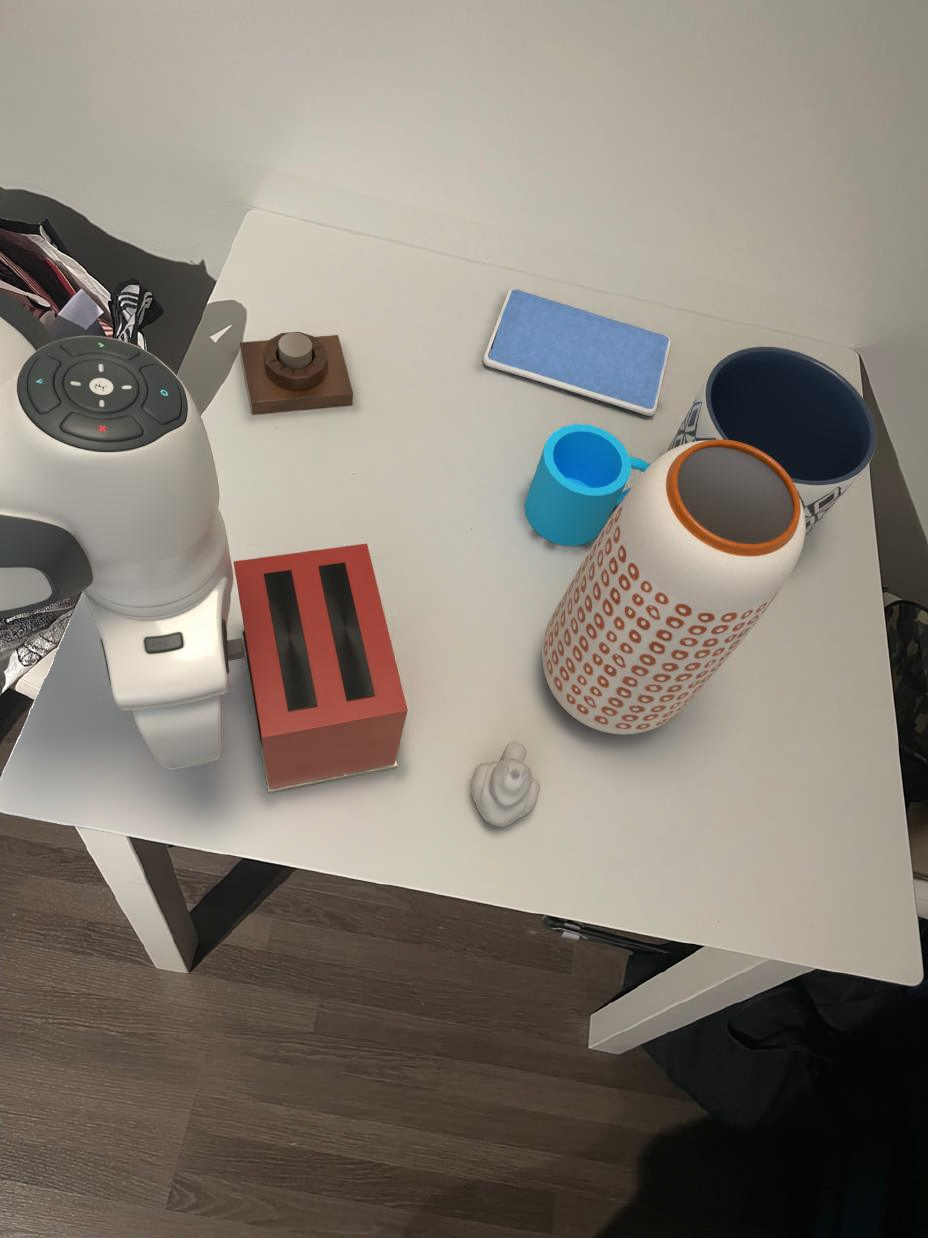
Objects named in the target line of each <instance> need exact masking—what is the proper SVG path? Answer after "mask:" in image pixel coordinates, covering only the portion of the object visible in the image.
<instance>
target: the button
mask: <svg viewBox="0 0 928 1238" xmlns="http://www.w3.org/2000/svg"><path fill="white" fill-rule="evenodd" d="M278 345H279V359H280V361H281V363H282V364H283V365H284V366H286V367H288V368H291V369H303V368H305V367H307V366H308V365H309V364H310V363H311V361H312V343H311V341H310V339H309V338H308V337H307V336H305V335H303V334H301V333H288V334H286V335H284V336H282V337H281V339H280V340H279V344H278Z"/></svg>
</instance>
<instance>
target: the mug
mask: <svg viewBox="0 0 928 1238" xmlns="http://www.w3.org/2000/svg"><path fill="white" fill-rule="evenodd" d="M650 465H651V464H650V463H649V462H647V461H645V460H644V459H642V458H637V457H634V456H630V453H629V452H628V451H627V449H626V448H625V445H624V444H623V442H621V441H620V440H619V439H618V438H617V437H616V436H615V435H614V434H612V433H610V432H609V431H607V430H605V429H603V428H601V427H597V426H594V425H591V424H583V423H573V424H569V425H565V426H562V427H560V428H558V429H557V430H555V431H553V432H552V433H551V435H550V436H549V437H548V438H547V439H546V441H545V444H544V447H543V449H542V452H541V455H540V457H539V460H538V463H537V466H536V469H535V472H534V475H533V477H532V481H531V484H530V486H529V489H528V491H527V495H526V498H525V501H524V511H525V516H526V518H527V520H528V523H529V525H530V527H532V529H533V530H534V531H535V532H536V533H537V534H538V535H539V536H540V537H542V538H544V539H545V540H547V541H549V542H551V543H554V544H558V545H560V546H566V547H578V546H582V545H585V544H588V543H590V542H592V541H593V540H595V539H597V538H598V536H599V534H600V533H601V531H602V530H603V528H604V526H605V525H606V523H607V522H608V520H609V519H610V517H611V515H612V513H613V510H614V508H615V507H618V506H619V504H620V503H621V502H622V500H623V499H624V497H625V496H626V495H627V493H628V492H629V491H630V489H631V488H632V486H631V487H629V488H627V489H625V486H626V485H627V483H628V482H629V481H628V480H629V478H630V476H631V470H637V471H640V472H642V473H643V472H644V471H645V470H646V469H647V468H648V467H649V466H650ZM624 489H625V490H624Z"/></svg>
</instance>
